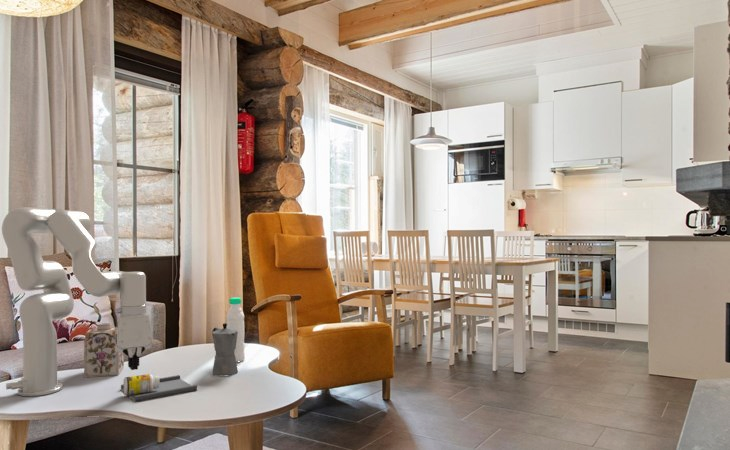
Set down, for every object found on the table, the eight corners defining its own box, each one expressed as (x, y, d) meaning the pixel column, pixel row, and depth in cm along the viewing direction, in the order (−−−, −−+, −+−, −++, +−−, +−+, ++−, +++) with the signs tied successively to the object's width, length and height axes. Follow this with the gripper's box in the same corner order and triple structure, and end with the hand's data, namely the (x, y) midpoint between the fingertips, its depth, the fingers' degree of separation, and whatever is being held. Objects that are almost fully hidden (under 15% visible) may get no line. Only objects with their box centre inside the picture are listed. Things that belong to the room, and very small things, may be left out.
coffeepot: (246, 373, 197) (245, 323, 197) (222, 378, 191) (222, 327, 191) (224, 366, 208) (224, 319, 209) (201, 371, 202) (201, 322, 202)
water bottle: (224, 359, 219) (224, 297, 219) (242, 358, 222) (242, 296, 222) (228, 363, 213) (227, 299, 213) (246, 361, 216) (246, 298, 216)
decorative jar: (83, 378, 194) (83, 327, 194) (90, 370, 205) (90, 322, 205) (119, 375, 197) (119, 325, 197) (124, 367, 208) (124, 320, 208)
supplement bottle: (123, 377, 174) (157, 373, 179) (123, 395, 172) (157, 390, 177) (124, 377, 169) (159, 372, 174) (125, 395, 168) (160, 391, 173)
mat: (135, 401, 165) (135, 397, 165) (121, 389, 179) (121, 384, 179) (196, 390, 177) (196, 385, 177) (179, 379, 190) (178, 375, 190)
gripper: (110, 314, 165) (111, 375, 165) (161, 309, 175) (161, 367, 174) (105, 311, 171) (105, 370, 171) (154, 307, 181) (154, 363, 180)
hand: (133, 368), depth 173 cm, fingers closed
